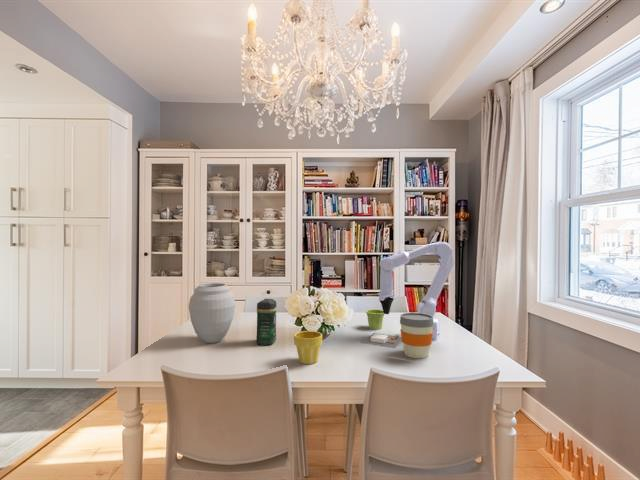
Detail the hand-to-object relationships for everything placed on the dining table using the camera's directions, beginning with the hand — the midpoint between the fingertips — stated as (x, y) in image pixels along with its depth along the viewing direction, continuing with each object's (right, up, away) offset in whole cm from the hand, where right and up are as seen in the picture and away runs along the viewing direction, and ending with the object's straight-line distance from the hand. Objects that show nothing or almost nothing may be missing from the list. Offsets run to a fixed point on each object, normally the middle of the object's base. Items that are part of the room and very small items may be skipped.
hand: (386, 313), depth 157 cm
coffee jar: (-53, -11, -9) cm, 55 cm away
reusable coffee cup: (+7, -11, -24) cm, 28 cm away
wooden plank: (+2, -10, -7) cm, 12 cm away
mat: (-3, -10, -7) cm, 13 cm away
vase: (-77, -11, -7) cm, 78 cm away
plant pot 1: (-35, -11, -31) cm, 48 cm away
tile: (-3, -9, -5) cm, 11 cm away
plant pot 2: (-3, -11, +13) cm, 17 cm away
